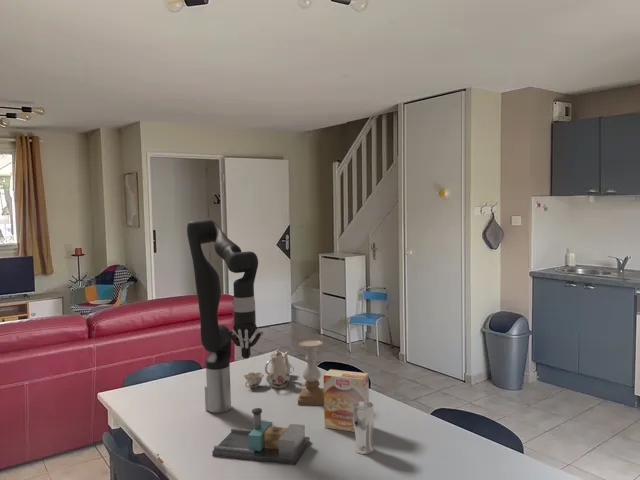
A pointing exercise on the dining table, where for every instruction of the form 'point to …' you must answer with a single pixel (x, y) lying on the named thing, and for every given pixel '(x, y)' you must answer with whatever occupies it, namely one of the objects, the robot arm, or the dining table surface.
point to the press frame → (287, 453)
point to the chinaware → (273, 372)
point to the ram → (258, 431)
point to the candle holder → (311, 375)
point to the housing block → (273, 437)
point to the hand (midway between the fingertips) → (246, 357)
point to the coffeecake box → (343, 397)
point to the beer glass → (363, 426)
